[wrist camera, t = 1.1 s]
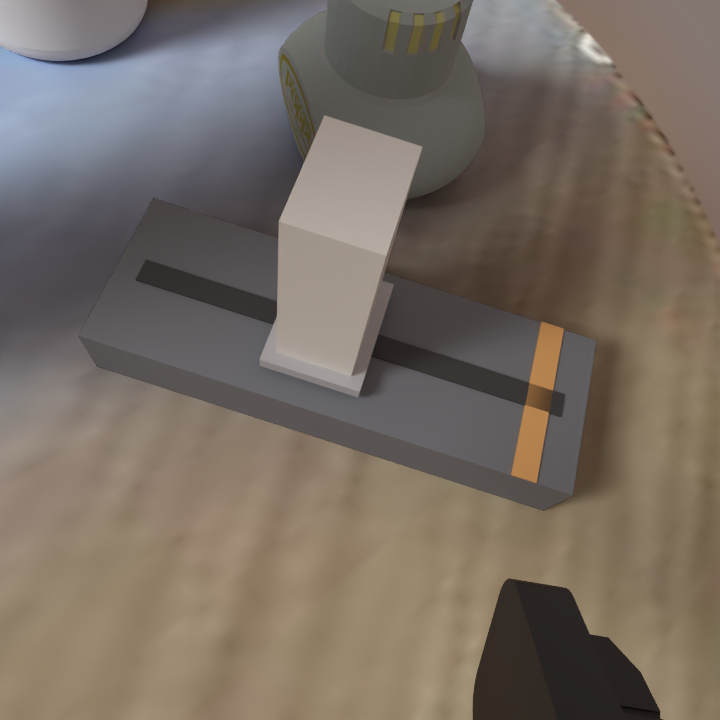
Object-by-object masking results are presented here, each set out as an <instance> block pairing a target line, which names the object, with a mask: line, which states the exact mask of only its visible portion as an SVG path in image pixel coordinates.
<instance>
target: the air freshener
mask: <svg viewBox="0 0 720 720" xmlns="http://www.w3.org/2000/svg"><path fill="white" fill-rule="evenodd" d="M472 2H473V0H328V7H327V10H326V11H323V12H321V13H319V14H317V15H315V16H314V17H312V18H310V19H309V20H307V21H306V22H304V23H303V24H302V25H301V26H300V27H298V28H297V29H296V30H295V31H294V32H293V33H292V34H291V35H290V36H289V37H288V39H287V40H286V41H285V43H284V44H283V45H282V47H281V48H280V50H279V59H278V62H279V75H280V82H281V88H282V93H283V98H284V103H285V107H286V111H287V115H288V119H289V123H290V126H291V129H292V132H293V136H294V139H295V142H296V145H297V147H298V150H299V153H300V155H301V157H302V160H303V162H305V159H306V157H307V155H308V152H309V150H310V148H311V145H312V143H313V141H314V138H315V136H316V134H317V132H318V129H319V127H320V125H321V122H322V120H323V118H324V115H325V116H328V117H331V118H335V119H338V120H341V121H344V122H347V123H350V124H353V125H356V126H360V127H363V128H366V129H369V130H372V131H375V132H378V133H382V134H385V135H388V136H391V137H394V138H397V139H400V140H403V141H407V142H410V143H413V144H416V145H419V146H422V150H421V153H420V157H419V160H418V163H417V167H416V170H415V173H414V177H413V180H412V183H411V187H410V190H409V193H408V197H407V199H412V198H417V197H420V196H423V195H426V194H428V193H431V192H434V191H436V190H438V189H439V188H441V187H443V186H445V185H446V184H448V183H450V182H451V181H453V180H454V179H455V178H456V177H457V176H458V175H460V174H461V173H462V172H463V171H464V170H465V169H466V168H467V167H468V166H469V164H470V163H471V162H472V160H473V159H474V158H475V157H476V155H477V154H478V151H479V149H480V147H481V145H482V143H483V140H484V137H485V129H486V117H485V107H484V100H483V95H482V91H481V87H480V83H479V80H478V76H477V73H476V71H475V68H474V65H473V63H472V61H471V58H470V56H469V54H468V52H467V50H466V49H465V47H464V45H463V43H462V42H461V39H462V35H463V32H464V29H465V25H466V22H467V19H468V15H469V12H470V9H471V5H472Z"/></svg>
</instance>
